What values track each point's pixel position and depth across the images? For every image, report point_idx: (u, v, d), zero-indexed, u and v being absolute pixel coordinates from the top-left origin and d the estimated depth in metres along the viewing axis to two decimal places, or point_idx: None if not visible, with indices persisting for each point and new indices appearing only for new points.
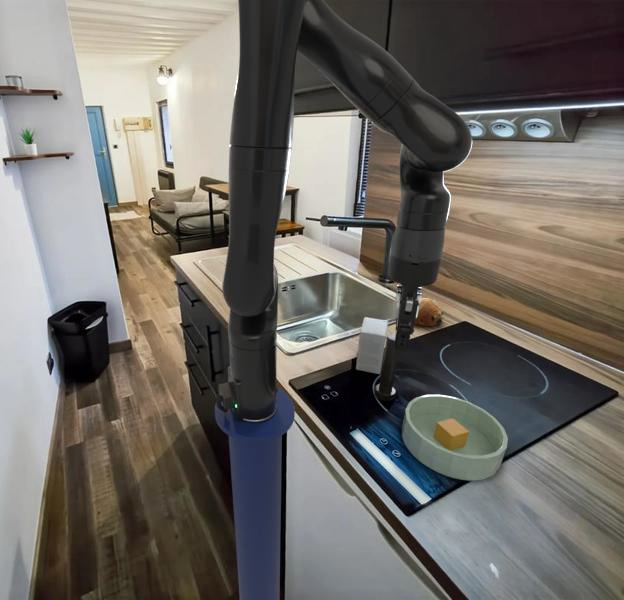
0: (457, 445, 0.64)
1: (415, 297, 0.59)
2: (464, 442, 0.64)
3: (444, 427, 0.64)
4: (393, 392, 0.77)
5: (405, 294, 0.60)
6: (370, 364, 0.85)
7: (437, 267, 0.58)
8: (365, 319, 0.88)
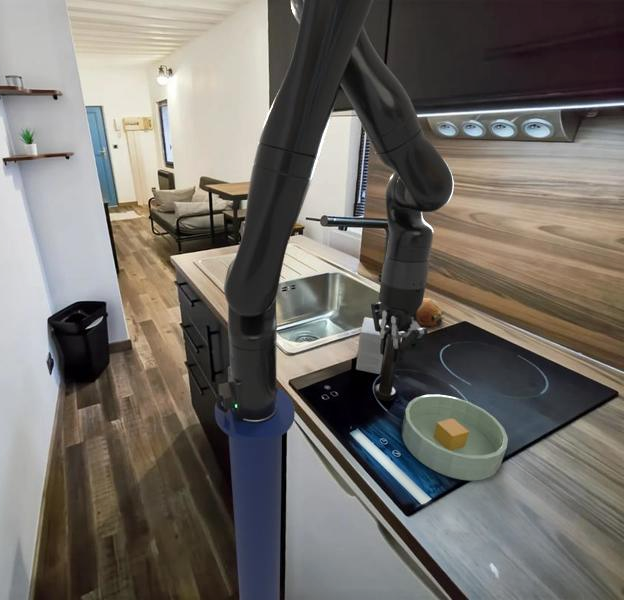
0: (457, 445, 0.64)
1: (417, 318, 0.66)
2: (464, 442, 0.64)
3: (444, 427, 0.64)
4: (393, 392, 0.77)
5: (410, 321, 0.66)
6: (370, 364, 0.85)
7: None
8: (365, 319, 0.88)
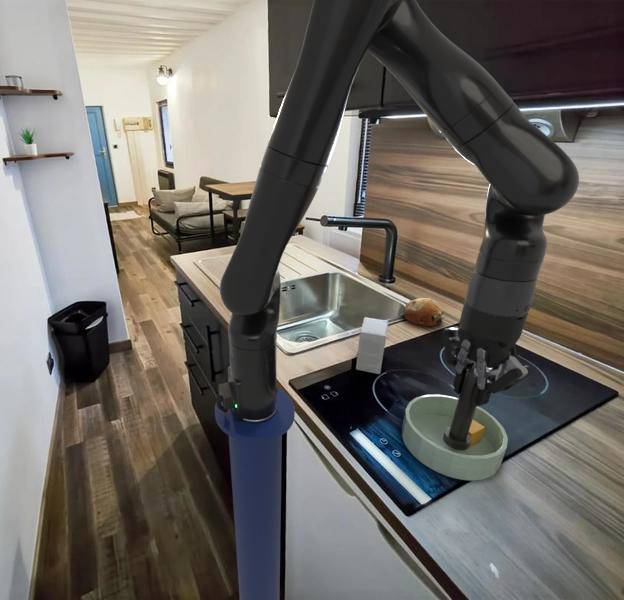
0: (474, 442, 0.64)
1: (515, 353, 0.51)
2: (480, 438, 0.64)
3: None
4: (469, 439, 0.61)
5: (508, 357, 0.51)
6: (370, 364, 0.85)
7: None
8: (365, 319, 0.88)
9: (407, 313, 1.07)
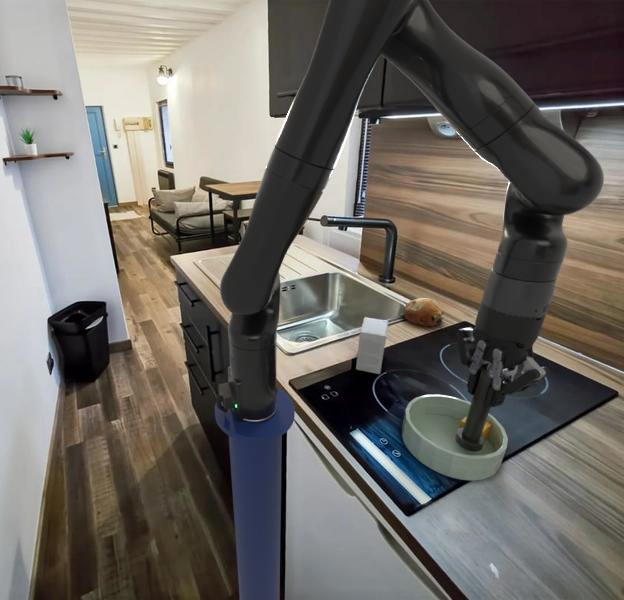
0: None
1: None
2: (487, 435, 0.65)
3: None
4: (482, 441, 0.61)
5: (525, 357, 0.50)
6: (370, 364, 0.85)
7: None
8: (365, 319, 0.88)
9: (407, 313, 1.07)
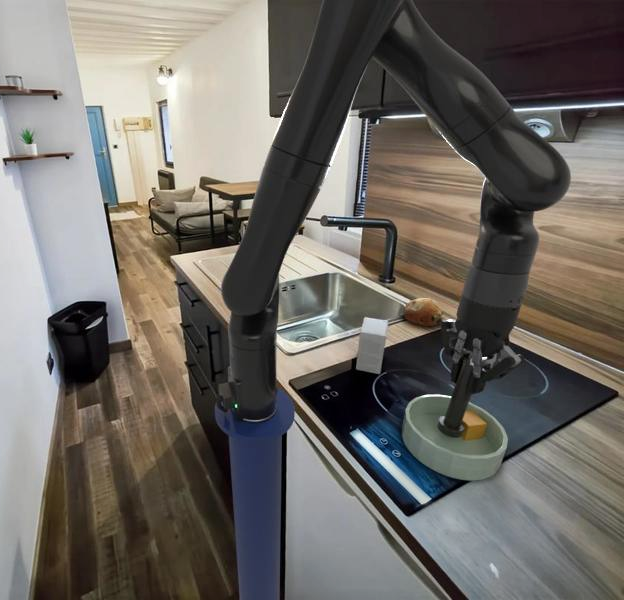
0: (474, 436, 0.65)
1: (509, 342, 0.54)
2: (481, 434, 0.65)
3: None
4: (462, 427, 0.64)
5: (502, 346, 0.54)
6: (370, 364, 0.85)
7: None
8: (365, 319, 0.88)
9: (407, 313, 1.07)
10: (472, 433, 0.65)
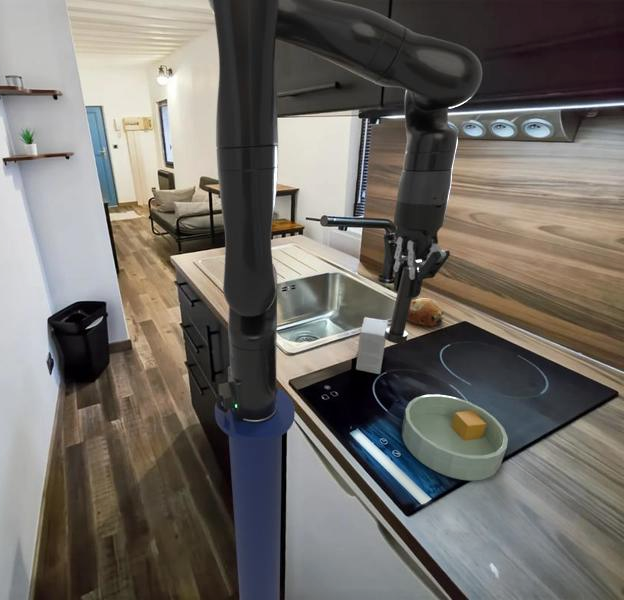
0: (473, 436, 0.65)
1: (437, 240, 0.59)
2: (481, 434, 0.65)
3: (462, 417, 0.66)
4: (405, 334, 0.69)
5: (430, 243, 0.59)
6: (370, 364, 0.85)
7: None
8: (365, 319, 0.88)
9: None
10: (471, 433, 0.65)
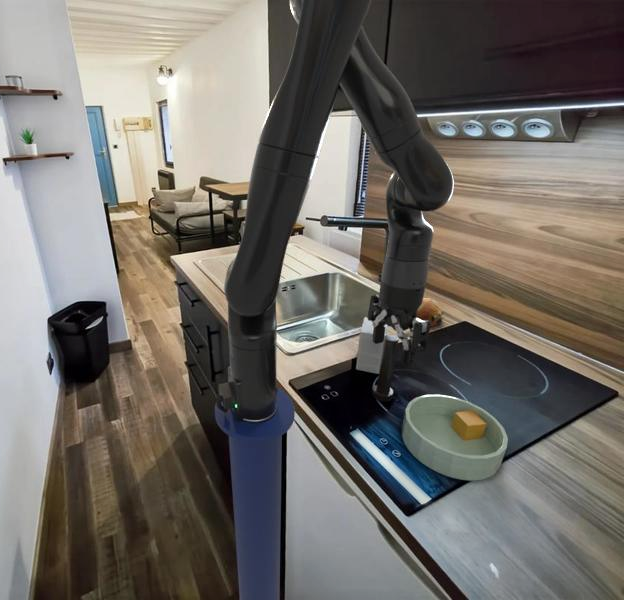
0: (473, 436, 0.65)
1: (417, 317, 0.66)
2: (481, 434, 0.65)
3: (462, 417, 0.66)
4: (391, 393, 0.77)
5: (410, 317, 0.66)
6: (370, 364, 0.85)
7: None
8: (365, 319, 0.88)
9: None
10: (471, 433, 0.65)
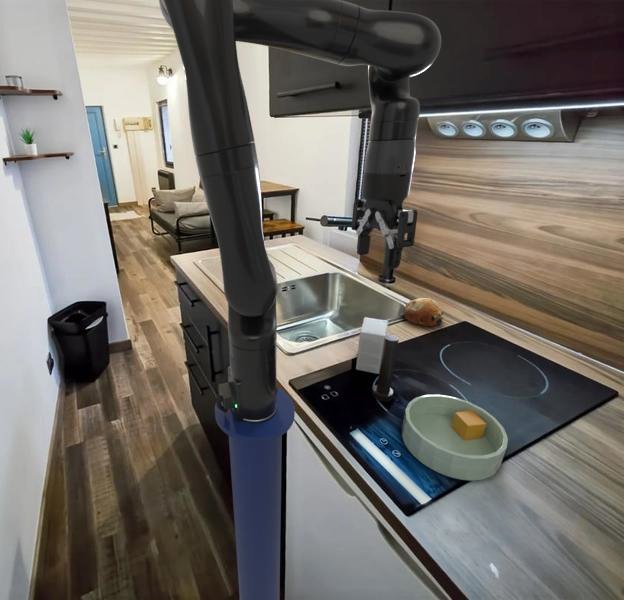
0: (473, 436, 0.65)
1: (403, 210, 0.60)
2: (481, 434, 0.65)
3: (462, 417, 0.66)
4: (391, 393, 0.77)
5: (395, 209, 0.60)
6: (370, 364, 0.85)
7: None
8: (365, 319, 0.88)
9: (407, 313, 1.07)
10: (471, 433, 0.65)
